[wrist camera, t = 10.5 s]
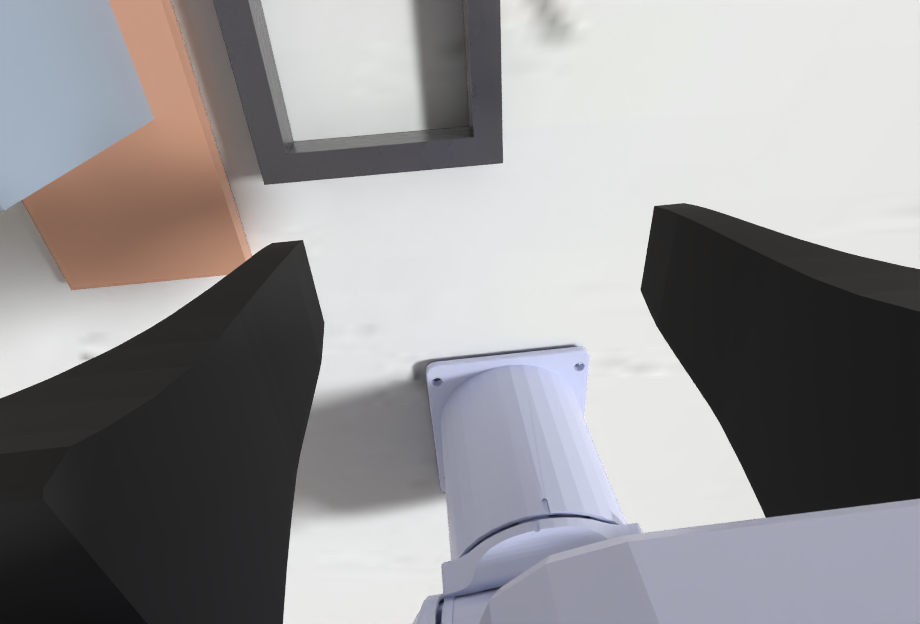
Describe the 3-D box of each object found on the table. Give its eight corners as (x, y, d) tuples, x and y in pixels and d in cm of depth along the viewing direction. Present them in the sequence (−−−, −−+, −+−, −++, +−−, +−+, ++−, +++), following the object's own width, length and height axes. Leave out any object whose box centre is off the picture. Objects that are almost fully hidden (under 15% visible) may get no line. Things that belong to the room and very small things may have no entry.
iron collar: (496, 150, 20) (502, 163, 19) (273, 170, 20) (264, 184, 19) (489, -139, 15) (497, -148, 14) (196, -119, 15) (177, -127, 14)
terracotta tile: (254, 263, 22) (249, 272, 21) (81, 279, 21) (71, 289, 21) (72, -310, 13) (55, -325, 12) (-225, -295, 13) (-260, -309, 12)
